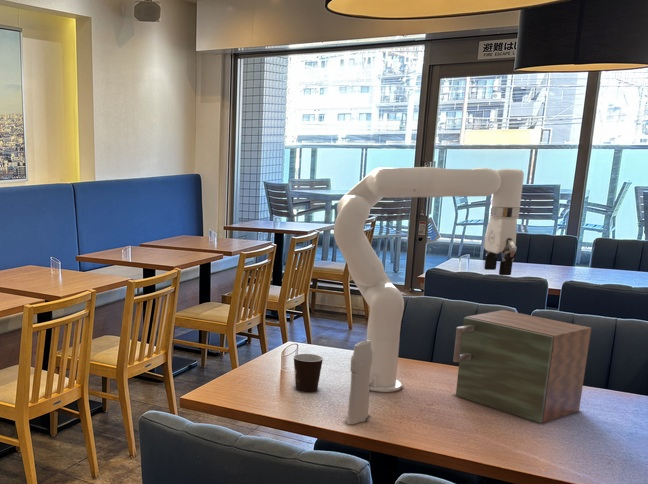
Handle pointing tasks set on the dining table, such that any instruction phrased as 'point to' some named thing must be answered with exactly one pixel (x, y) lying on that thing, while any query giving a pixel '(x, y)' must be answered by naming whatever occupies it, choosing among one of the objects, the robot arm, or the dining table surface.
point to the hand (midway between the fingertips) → (497, 272)
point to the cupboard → (554, 358)
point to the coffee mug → (307, 372)
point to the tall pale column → (360, 382)
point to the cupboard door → (503, 367)
